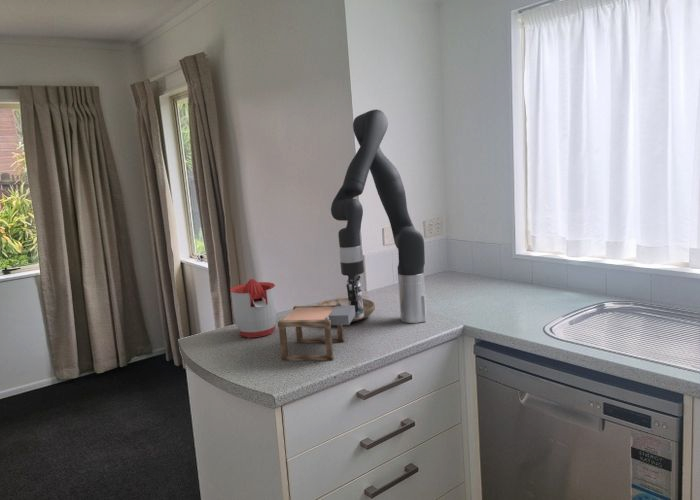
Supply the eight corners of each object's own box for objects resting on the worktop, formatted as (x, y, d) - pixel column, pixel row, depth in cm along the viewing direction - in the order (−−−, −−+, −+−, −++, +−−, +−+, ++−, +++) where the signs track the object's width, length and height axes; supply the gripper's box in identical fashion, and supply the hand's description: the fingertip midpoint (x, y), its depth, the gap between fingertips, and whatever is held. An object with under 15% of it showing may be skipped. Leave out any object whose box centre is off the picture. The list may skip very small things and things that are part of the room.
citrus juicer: (241, 344, 185) (235, 286, 182) (231, 331, 201) (225, 278, 198) (286, 336, 191) (281, 279, 188) (272, 324, 207) (267, 271, 204)
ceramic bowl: (302, 325, 203) (301, 312, 202) (333, 308, 224) (332, 296, 223) (358, 330, 192) (357, 316, 192) (385, 311, 213) (385, 299, 212)
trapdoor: (356, 313, 177) (355, 304, 177) (347, 326, 164) (347, 316, 163) (296, 314, 181) (295, 305, 181) (283, 327, 168) (282, 317, 167)
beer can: (359, 320, 181) (356, 284, 179) (347, 319, 184) (343, 284, 182) (366, 316, 185) (363, 281, 184) (354, 315, 188) (351, 280, 186)
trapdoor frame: (344, 340, 182) (341, 302, 180) (332, 360, 165) (329, 318, 162) (297, 340, 185) (294, 303, 183) (281, 360, 168) (277, 318, 166)
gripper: (359, 263, 174) (364, 315, 177) (365, 254, 188) (370, 303, 191) (336, 264, 175) (341, 316, 178) (343, 256, 189) (348, 304, 192)
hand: (356, 309), depth 184 cm, fingers closed on beer can, 4 cm apart
